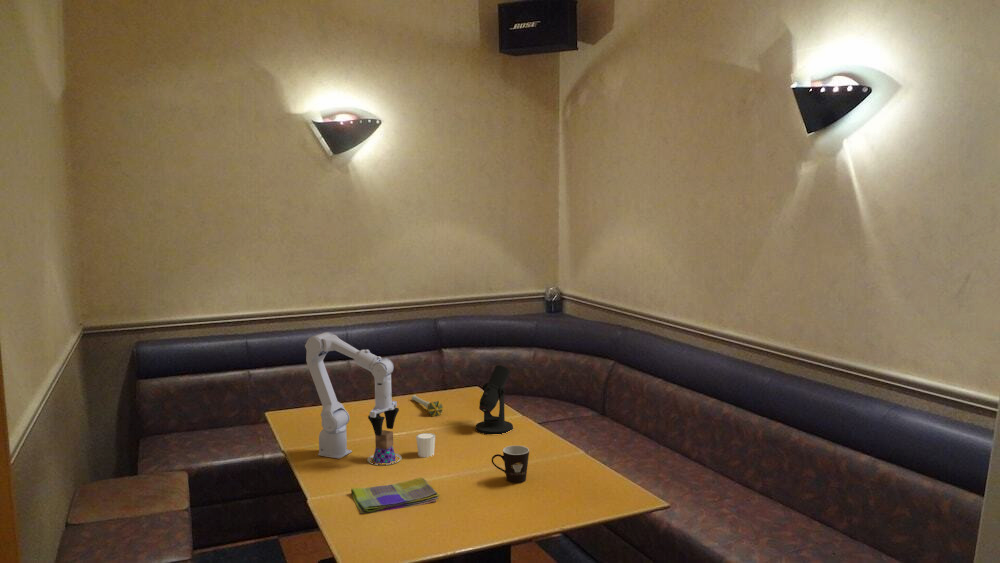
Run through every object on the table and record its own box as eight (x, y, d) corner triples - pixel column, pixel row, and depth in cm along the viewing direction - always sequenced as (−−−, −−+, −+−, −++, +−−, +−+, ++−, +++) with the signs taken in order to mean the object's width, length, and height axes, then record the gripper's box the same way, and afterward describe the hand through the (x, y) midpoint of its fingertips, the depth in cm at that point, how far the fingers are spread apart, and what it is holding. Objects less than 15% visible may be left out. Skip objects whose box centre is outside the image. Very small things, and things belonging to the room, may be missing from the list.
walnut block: (375, 447, 254) (375, 433, 254) (382, 443, 259) (382, 430, 258) (386, 449, 253) (386, 435, 252) (393, 445, 257) (393, 431, 256)
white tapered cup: (432, 458, 257) (432, 439, 256) (414, 457, 258) (413, 438, 257) (438, 451, 264) (437, 433, 263) (419, 450, 265) (419, 432, 264)
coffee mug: (532, 476, 240) (532, 447, 239) (524, 486, 232) (524, 456, 231) (499, 472, 244) (499, 443, 243) (490, 481, 236) (490, 452, 235)
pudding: (376, 469, 248) (375, 454, 247) (361, 459, 258) (361, 444, 257) (407, 462, 255) (407, 447, 254) (392, 452, 265) (392, 438, 264)
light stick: (420, 389, 332) (445, 401, 305) (421, 403, 332) (446, 416, 305) (406, 391, 329) (430, 403, 302) (406, 405, 329) (430, 419, 302)
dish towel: (350, 494, 228) (349, 485, 228) (424, 482, 237) (424, 474, 237) (361, 517, 212) (360, 507, 212) (441, 503, 221) (440, 494, 221)
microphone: (521, 426, 293) (521, 365, 290) (498, 438, 278) (498, 374, 275) (490, 420, 301) (490, 360, 298) (466, 431, 286) (466, 369, 283)
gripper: (381, 400, 245) (382, 439, 247) (403, 390, 258) (404, 427, 260) (364, 398, 248) (365, 436, 250) (386, 388, 261) (387, 424, 263)
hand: (384, 431), depth 255 cm, fingers open, 7 cm apart
